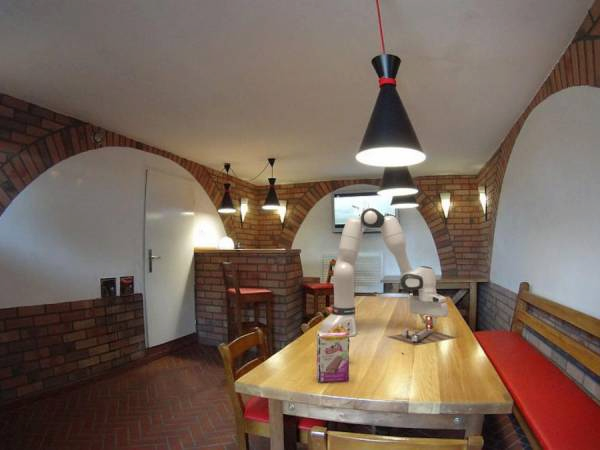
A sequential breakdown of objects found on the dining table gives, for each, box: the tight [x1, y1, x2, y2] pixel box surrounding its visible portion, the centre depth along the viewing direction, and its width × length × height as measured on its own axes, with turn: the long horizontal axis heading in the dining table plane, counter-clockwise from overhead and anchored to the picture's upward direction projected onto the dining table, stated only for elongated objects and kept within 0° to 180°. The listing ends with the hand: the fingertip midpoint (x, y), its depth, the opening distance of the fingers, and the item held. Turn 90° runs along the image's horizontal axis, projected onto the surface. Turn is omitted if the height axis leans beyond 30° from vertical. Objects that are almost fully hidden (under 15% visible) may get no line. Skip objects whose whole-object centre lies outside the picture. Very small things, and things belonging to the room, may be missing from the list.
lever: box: [412, 315, 434, 342], centre depth 186 cm, size 24×4×8 cm, turn 143°
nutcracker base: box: [387, 328, 457, 347], centre depth 188 cm, size 29×19×6 cm, turn 119°
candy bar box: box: [316, 332, 350, 384], centre depth 134 cm, size 11×5×16 cm, turn 98°
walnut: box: [408, 329, 418, 340], centre depth 185 cm, size 4×4×4 cm
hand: (428, 323), depth 195 cm, fingers open, 4 cm apart
